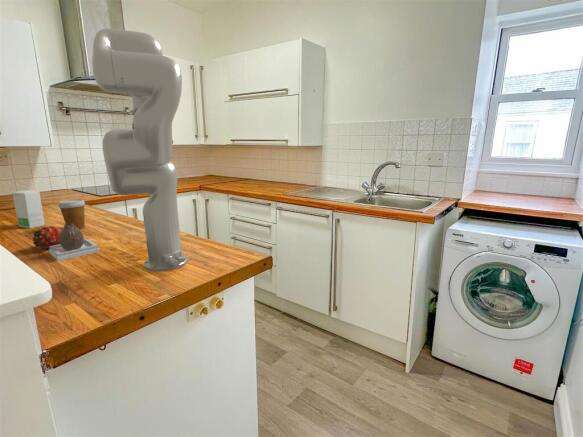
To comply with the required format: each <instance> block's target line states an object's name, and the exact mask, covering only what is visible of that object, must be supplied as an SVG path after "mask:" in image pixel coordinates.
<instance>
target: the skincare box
mask: <svg viewBox="0 0 583 437" xmlns="http://www.w3.org/2000/svg"><path fill="white" fill-rule="evenodd" d="M40 193H41V192H40V191H38V190H37V191H36V190H30V189H29V190H28V189H27V190H26V189H25V190H17V191H13V192H12V197H13V198H12V200H13V204H14V209H15V210H14V211H15V215H16V220H17V225H18V227H20V228H25V229H34V228H37V227H41V226H45V225H46V224H45V218H44V211H43V206H42V205H43V204H42V200H41V194H40Z"/></svg>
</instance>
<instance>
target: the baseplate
mask: <svg viewBox="0 0 583 437" xmlns="http://www.w3.org/2000/svg"><path fill="white" fill-rule="evenodd" d="M49 248H50V249H49V250H48V253H49V254H50V255H51V256H52V257H53V258H54V259H55V260H56V261H57V262H61V261H66V260H70V259H75V258H78V257H83V256H87V255H90V254H95V253H99V252H101V250H100V247H99V245H98V244H96V243H95V242H93V241H92V240H90V239H89V238H84V243H83V245H82V247H81V248H80V249H76V250H71V251H67V250H65V249H63V248H62V246H61V245H60V244H59V245H54V246H49ZM69 258H70V259H69Z"/></svg>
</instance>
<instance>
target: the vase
mask: <svg viewBox="0 0 583 437" xmlns="http://www.w3.org/2000/svg"><path fill="white" fill-rule="evenodd" d="M61 230H62V231H61V232H60V235H59V242H60V245H61V246H62V248H63V249H65V250H67V251H71V250H76V249H80V248H81V247H82V245H83V243H84V239H85V237H84V234H83V231H82V230H81V229H78V228H77V227H76V226H75V225H74V224H73V223H68V224H66V223H65V224H64V226H63V228H62V229H61Z"/></svg>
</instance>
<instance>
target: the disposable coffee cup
mask: <svg viewBox="0 0 583 437" xmlns="http://www.w3.org/2000/svg"><path fill="white" fill-rule="evenodd" d="M85 204H86V202H85V201H84V199H82V198H81V199H78V198H77V199H76V198H75V199H67V200H61V201H58V206H57V207H59V208H60V211H61V214H62V217H63V220H64V221H63V222H64V223H65V224H68V223H73V224H74V225H75V226H76V227H77V228H78V229H79V230H82V229H84V228H85V227H86V226H85V225H86V222H85Z"/></svg>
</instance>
